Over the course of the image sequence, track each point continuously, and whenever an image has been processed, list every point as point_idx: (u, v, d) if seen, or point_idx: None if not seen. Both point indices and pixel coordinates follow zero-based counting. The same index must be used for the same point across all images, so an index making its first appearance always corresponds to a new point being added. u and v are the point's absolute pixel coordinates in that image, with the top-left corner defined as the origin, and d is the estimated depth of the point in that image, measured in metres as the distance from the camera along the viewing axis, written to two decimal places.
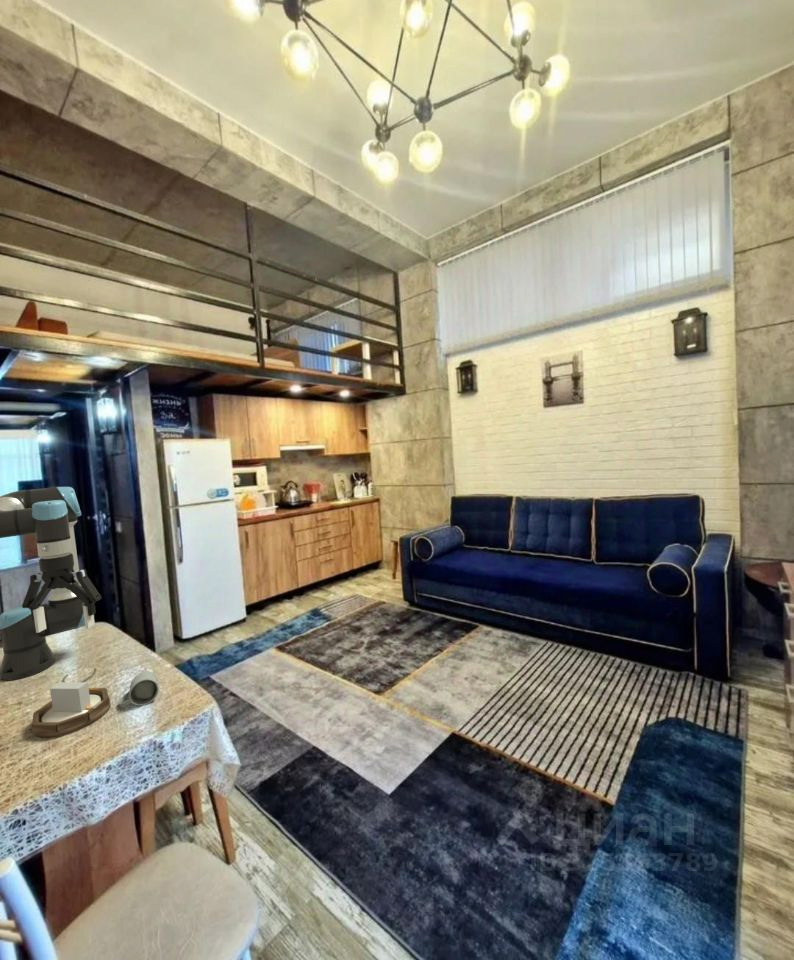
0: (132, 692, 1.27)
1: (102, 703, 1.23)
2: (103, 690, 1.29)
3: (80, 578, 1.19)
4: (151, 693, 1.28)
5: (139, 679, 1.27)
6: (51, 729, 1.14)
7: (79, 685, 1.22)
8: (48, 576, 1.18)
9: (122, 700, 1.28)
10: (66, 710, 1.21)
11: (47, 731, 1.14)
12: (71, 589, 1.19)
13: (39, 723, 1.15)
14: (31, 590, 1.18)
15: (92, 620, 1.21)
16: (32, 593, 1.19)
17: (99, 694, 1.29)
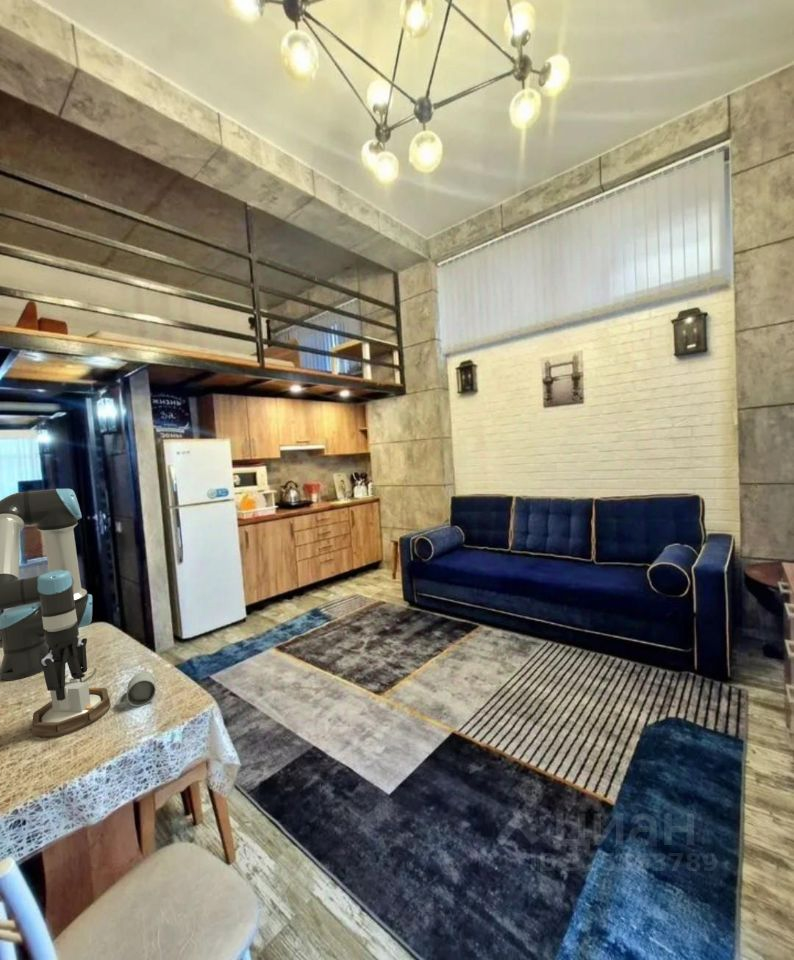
0: (129, 693, 1.26)
1: (102, 703, 1.23)
2: (103, 690, 1.29)
3: None
4: (148, 694, 1.28)
5: (136, 680, 1.26)
6: (51, 729, 1.14)
7: (79, 685, 1.22)
8: None
9: (119, 701, 1.27)
10: (66, 710, 1.21)
11: (47, 731, 1.14)
12: None
13: (39, 723, 1.15)
14: None
15: (65, 704, 1.20)
16: (77, 657, 1.26)
17: (99, 694, 1.29)
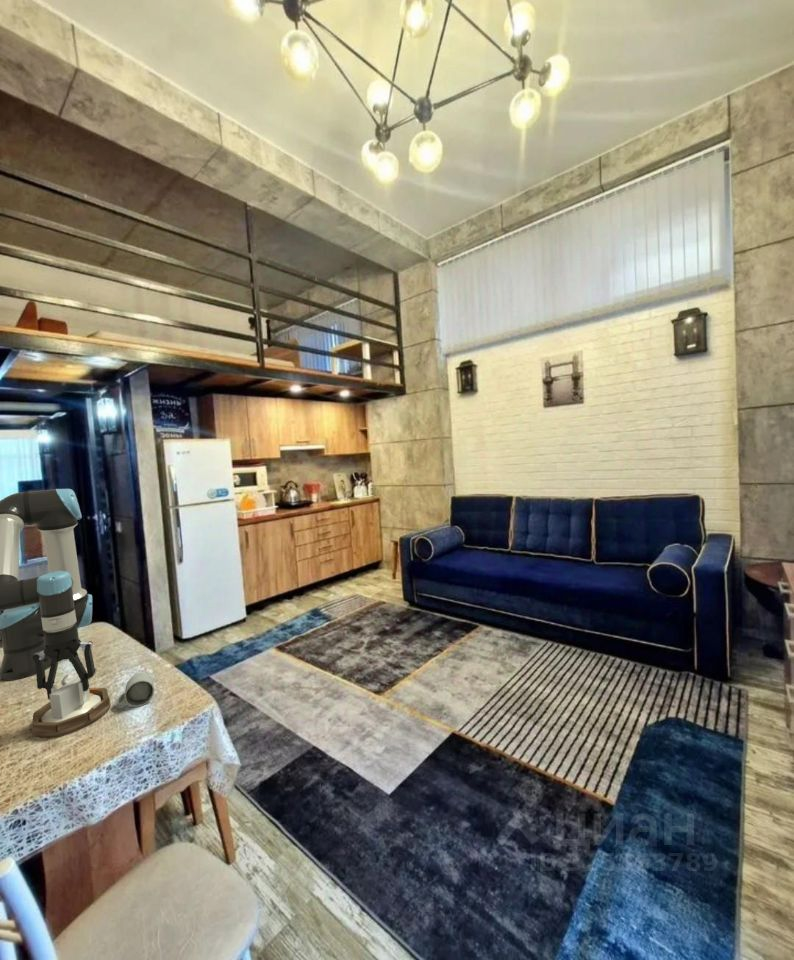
0: (127, 693, 1.26)
1: (102, 703, 1.23)
2: (103, 690, 1.29)
3: (87, 651, 1.22)
4: (147, 694, 1.28)
5: (134, 680, 1.26)
6: (51, 729, 1.14)
7: (78, 679, 1.25)
8: (51, 648, 1.19)
9: (117, 701, 1.27)
10: (76, 707, 1.22)
11: (47, 731, 1.14)
12: (73, 662, 1.21)
13: (39, 723, 1.15)
14: (40, 669, 1.18)
15: (85, 695, 1.24)
16: (42, 671, 1.18)
17: (99, 694, 1.29)
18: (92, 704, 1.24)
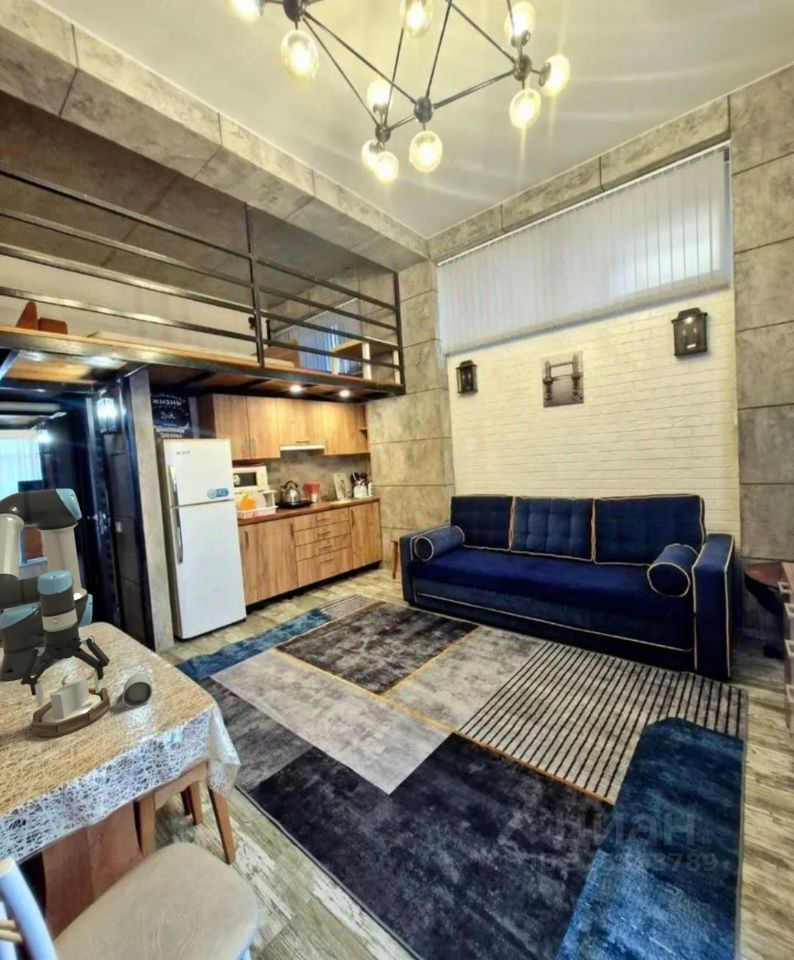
0: (125, 694, 1.26)
1: (102, 703, 1.23)
2: (103, 690, 1.29)
3: (91, 645, 1.22)
4: (145, 695, 1.28)
5: (133, 681, 1.26)
6: (51, 729, 1.14)
7: (77, 679, 1.25)
8: (53, 648, 1.19)
9: (115, 702, 1.27)
10: (76, 707, 1.22)
11: (47, 731, 1.14)
12: (80, 657, 1.22)
13: (39, 723, 1.15)
14: (33, 665, 1.17)
15: (100, 684, 1.25)
16: (33, 668, 1.18)
17: (99, 694, 1.29)
18: (93, 703, 1.24)
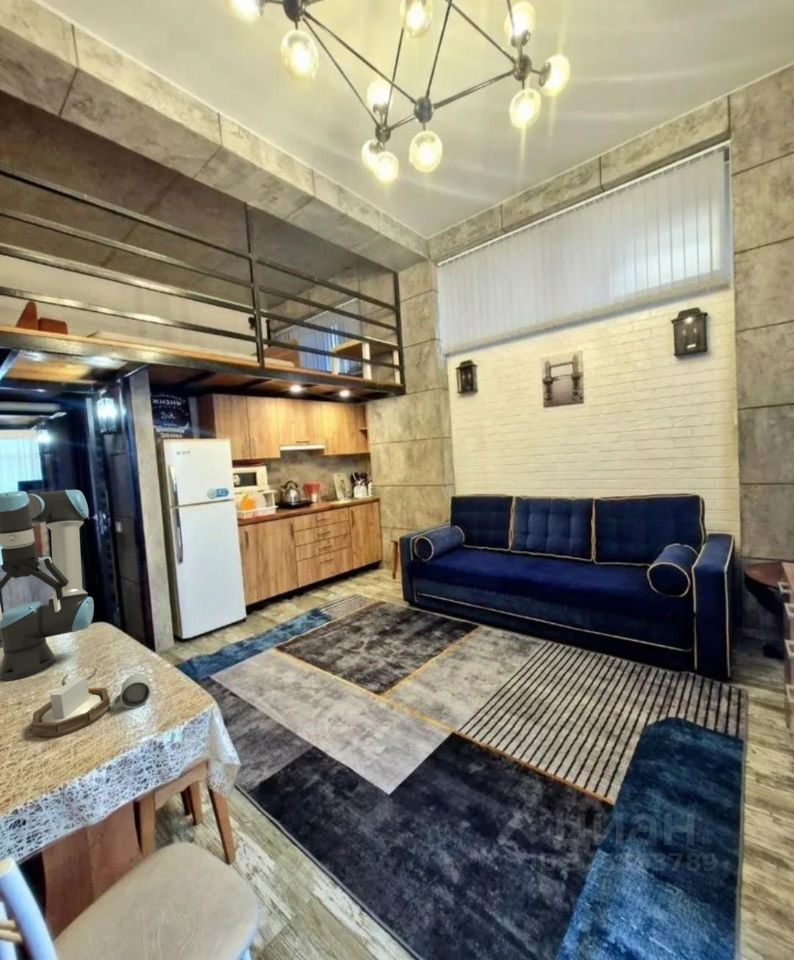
0: (123, 695, 1.26)
1: (102, 703, 1.23)
2: (103, 690, 1.29)
3: (49, 565, 1.25)
4: (143, 696, 1.27)
5: (130, 682, 1.26)
6: (51, 729, 1.14)
7: (77, 679, 1.25)
8: (11, 566, 1.21)
9: (113, 703, 1.26)
10: (76, 707, 1.22)
11: (47, 731, 1.14)
12: (38, 576, 1.24)
13: (39, 723, 1.15)
14: None
15: (59, 604, 1.28)
16: None
17: (99, 694, 1.29)
18: (93, 703, 1.24)
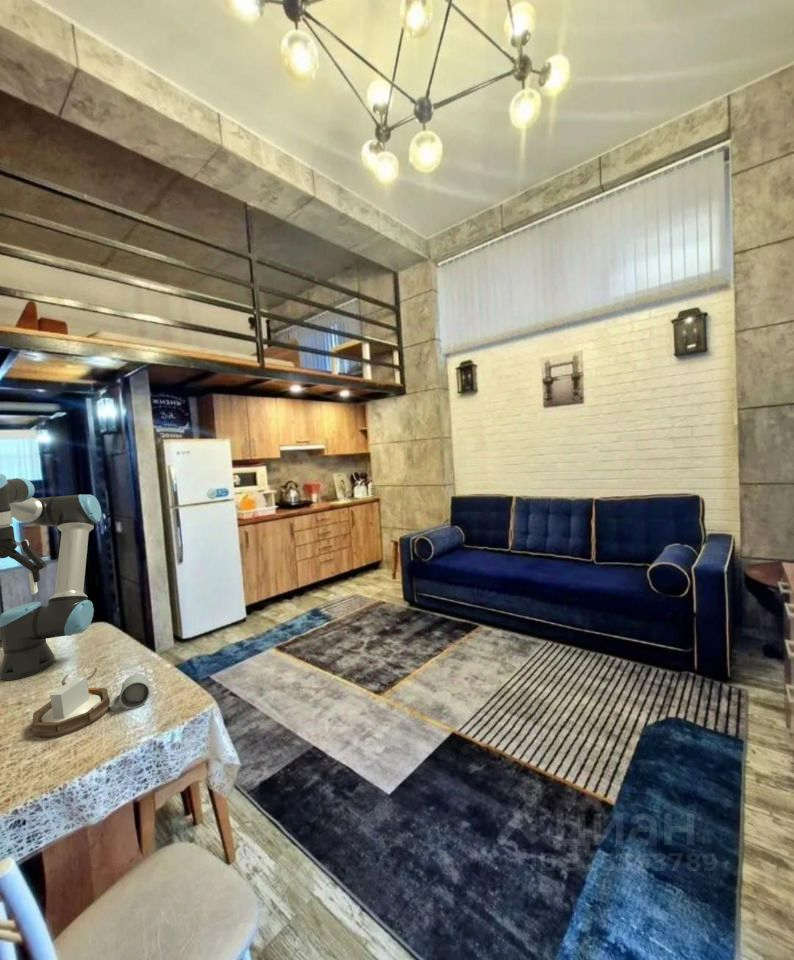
0: (123, 695, 1.26)
1: (102, 703, 1.23)
2: (103, 690, 1.29)
3: (26, 547, 1.26)
4: (142, 696, 1.27)
5: (130, 682, 1.25)
6: (51, 729, 1.14)
7: (77, 679, 1.25)
8: None
9: (113, 703, 1.26)
10: (76, 707, 1.22)
11: (47, 731, 1.14)
12: (15, 558, 1.25)
13: (39, 723, 1.15)
14: None
15: (36, 587, 1.29)
16: None
17: (99, 694, 1.29)
18: (93, 703, 1.24)
